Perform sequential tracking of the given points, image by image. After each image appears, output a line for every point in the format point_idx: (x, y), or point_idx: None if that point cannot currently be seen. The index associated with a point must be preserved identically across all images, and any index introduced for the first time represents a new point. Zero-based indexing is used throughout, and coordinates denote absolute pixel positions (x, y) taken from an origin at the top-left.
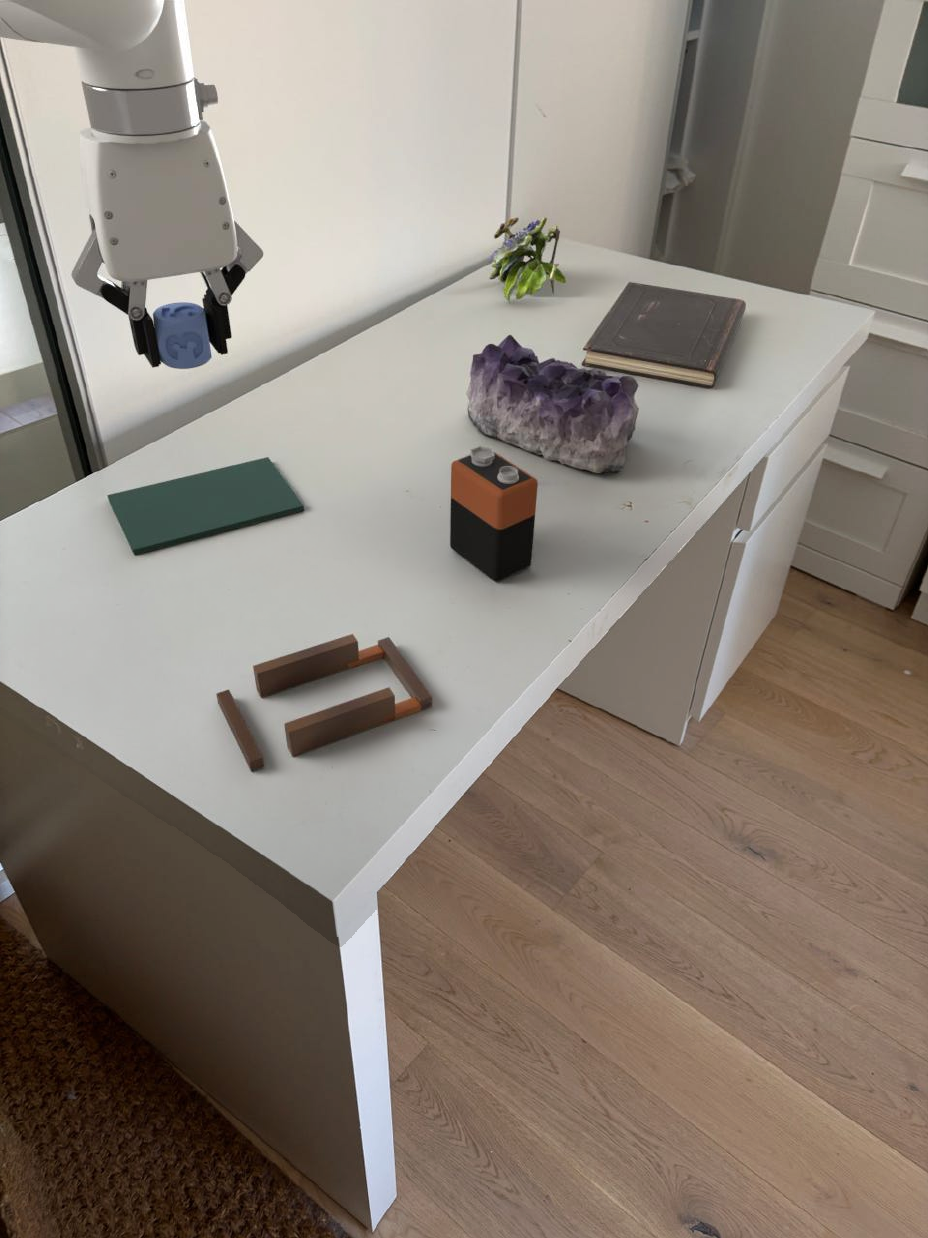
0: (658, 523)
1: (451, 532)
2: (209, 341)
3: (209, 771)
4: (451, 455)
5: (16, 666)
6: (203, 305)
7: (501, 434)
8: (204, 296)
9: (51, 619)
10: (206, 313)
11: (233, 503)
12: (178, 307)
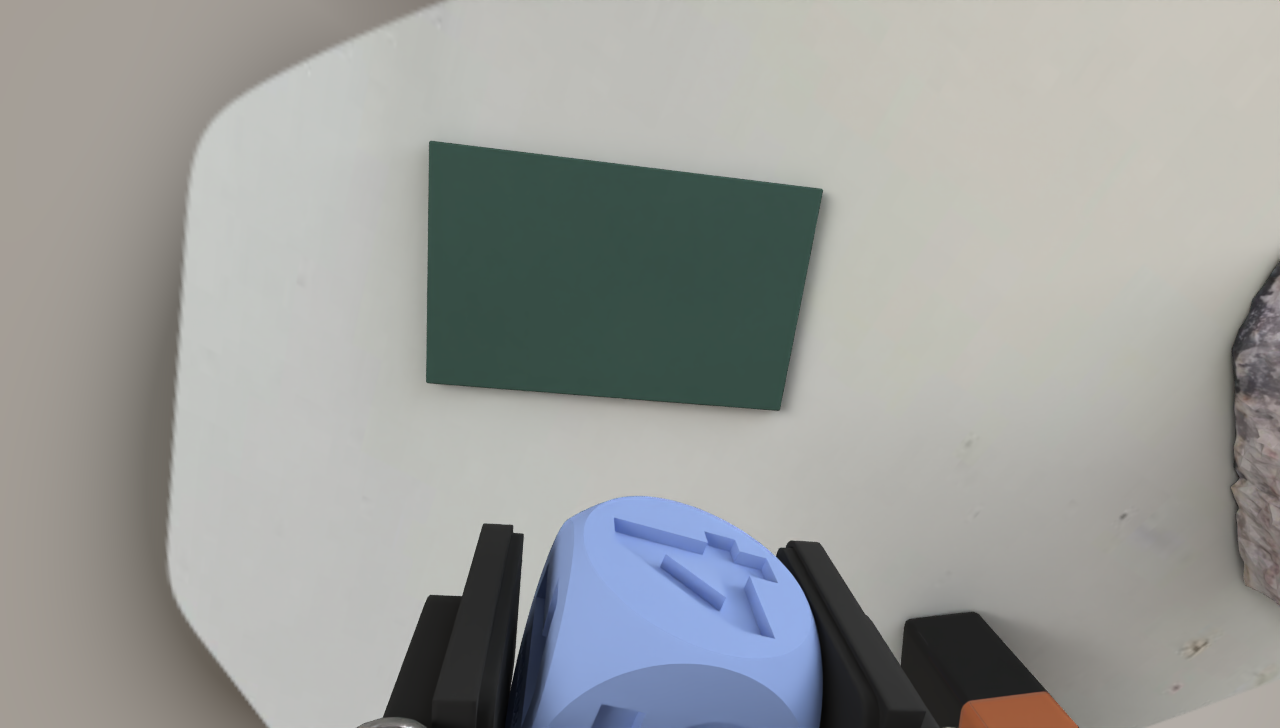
0: (1183, 698)
1: (920, 652)
2: (776, 555)
3: None
4: (1124, 377)
5: (176, 563)
6: (844, 673)
7: (1247, 406)
8: (881, 718)
9: (246, 481)
10: (824, 681)
11: (665, 333)
12: (694, 724)
